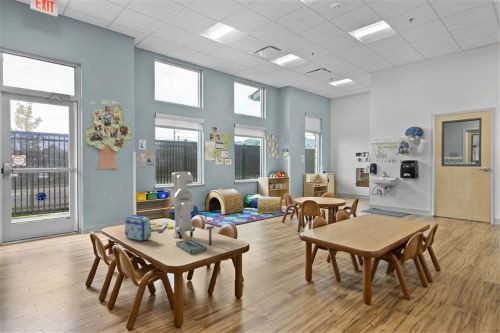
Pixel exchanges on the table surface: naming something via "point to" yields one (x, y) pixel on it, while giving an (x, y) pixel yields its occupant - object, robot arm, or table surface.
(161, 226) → the pattern blocks set
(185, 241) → the grey elongated block
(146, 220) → the lunch box
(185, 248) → the tray
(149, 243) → the table surface
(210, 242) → the stake
